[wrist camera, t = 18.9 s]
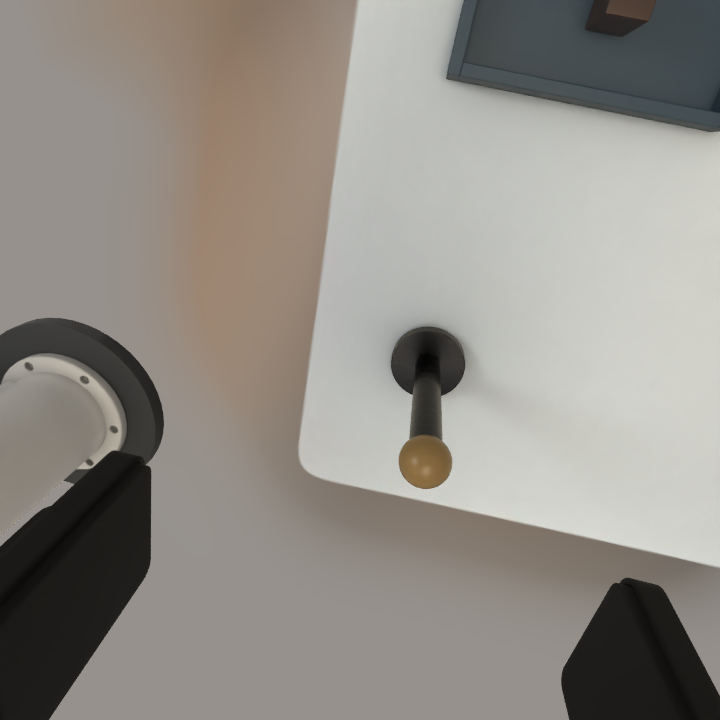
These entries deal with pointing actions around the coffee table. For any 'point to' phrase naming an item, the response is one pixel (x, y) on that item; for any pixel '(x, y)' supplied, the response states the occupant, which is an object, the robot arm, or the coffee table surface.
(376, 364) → the coffee table surface
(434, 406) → the black post with ball
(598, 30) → the brown ring with handle
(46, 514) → the robot arm
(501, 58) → the tray
